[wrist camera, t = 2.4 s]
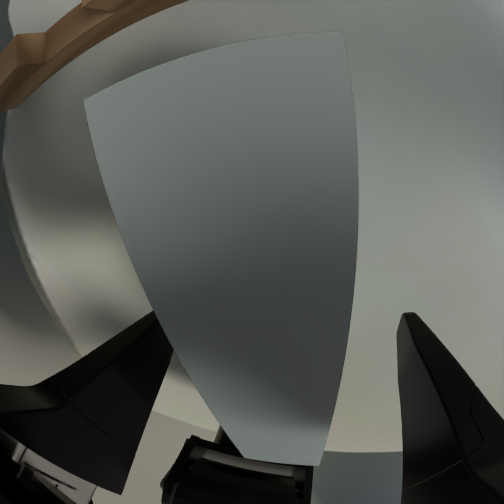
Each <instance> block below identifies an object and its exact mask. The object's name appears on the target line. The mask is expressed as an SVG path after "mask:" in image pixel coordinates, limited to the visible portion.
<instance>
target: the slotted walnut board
mask: <svg viewBox="0 0 504 504" xmlns="http://www.w3.org/2000/svg"><path fill="white" fill-rule="evenodd" d="M185 1H188V0H82V3H80V4H79V5H78V6H76V7H75V8H74V9H72V10H71V11H70V12H69V13H67V14H66V15H65V16H64V17H62V18H61V19H60V20H59V21H58V22H57V23H55V24H54V25H53V26H52V27H51V28H50V29H49V30H48V31H46V32H45V33H28V34H17V35H16V36H15V37H14V38H13V39H12V40H11V42H10V43H9V44H8V45H7V47H6V48H5V49H4V50H3V52H2V53H1V55H0V112H3V111H6V110H9V109H12V108H15V107H17V106H18V105H19V104H20V103H22V102H23V101H24V100H25V99H26V98H27V97H28V96H29V95H30V94H31V93H32V92H33V91H34V90H36V89H37V88H38V87H39V86H40V85H41V84H42V83H44V82H45V81H46V80H47V79H48V78H50V77H51V76H52V75H53V74H55V73H56V72H57V71H58V70H60V69H61V68H62V67H64V66H65V65H66V64H68V63H69V62H70V61H72V60H73V59H75V58H76V57H77V56H79V55H80V54H82V53H83V52H85V51H86V50H88V49H89V48H91V47H93V46H94V45H96V44H97V43H99V42H101V41H102V40H104V39H106V38H107V37H109V36H111V35H112V34H114V33H116V32H118V31H120V30H122V29H123V28H125V27H127V26H129V25H131V24H133V23H135V22H137V21H139V20H141V19H143V18H146V17H148V16H150V15H152V14H155V13H157V12H159V11H162V10H164V9H166V8H169V7H172V6H174V5H177V4H179V3H182V2H185Z"/></svg>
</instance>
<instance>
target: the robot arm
mask: <svg viewBox="0 0 504 504" xmlns="http://www.w3.org/2000/svg"><path fill="white" fill-rule="evenodd" d="M173 350H174V349H173V347H172V345H171V343H170V342H169V340H168V338H167V336H166V334H165V332H164V330H163V328H162V326H161V324H160V322H159V320H158V318H157V316H156V314H155V312H154V310H153V311H152V312H150V313H149V314H147V315H146V316H144V317H143V318H141V319H140V320H138V321H137V322H135V323H134V324H132V325H131V326H129V327H128V328H126V329H125V330H123V331H122V332H120V333H119V334H117V335H116V336H114V337H113V338H111V339H110V340H108V341H107V342H105V343H104V344H102V345H101V346H99V347H98V348H96V349H95V350H93V351H92V352H90V353H89V354H88V355H86V356H84V357H83V358H81V359H80V360H78V361H76V362H75V363H73V364H72V365H70V366H69V367H67V368H65V369H63V370H62V371H60V372H58V373H56V374H55V375H53V376H51V377H49V378H47V379H46V380H44V381H42V382H40V383H38V384H36V385H32V386H14V385H4V384H0V504H93V501H92V496H93V494H94V492H95V489H96V487H97V486H99V487H101V488H104V489H106V490H109V491H111V492H114V493H117V494H119V495H121V494H122V492H123V489H124V486H125V483H126V480H127V477H128V474H129V471H130V469H131V465H132V463H133V460H134V457H135V453H136V451H137V448H138V445H139V442H140V440H141V437H142V434H143V431H144V429H145V426H146V423H147V421H148V418H149V415H150V413H151V410H152V407H153V405H154V402H155V400H156V397H157V394H158V392H159V389H160V387H161V384H162V382H163V379H164V376H165V374H166V371H167V369H168V366H169V364H170V361H171V357H172V354H173ZM397 359H398V385H399V395H400V406H401V419H402V438H403V481H402V498H401V504H504V420H503V418H502V417H501V416H500V415H499V414H498V412H497V411H496V410H495V409H494V408H493V407H492V405H491V404H490V403H489V401H488V400H487V399H486V397H485V396H484V395H483V394H482V392H481V391H480V390H479V388H478V387H477V386H476V385H475V383H474V382H473V380H472V379H471V378H470V377H469V375H468V374H467V373H466V371H465V370H464V369H463V368H462V366H461V365H460V364H459V363H458V361H457V360H456V359H455V358H454V357H453V355H452V354H451V353H450V352H449V350H448V349H447V348H446V347H445V346H444V345H443V343H442V342H441V341H440V340H439V339H438V338H437V336H436V335H435V334H434V333H433V332H432V331H431V330H430V328H429V327H428V326H427V325H426V324H425V323H424V322H423V321H422V319H421V318H420V317H419V316H418V315H417V314H416V313H414V312H407V313H403V314H402V316H401V319H400V323H399V326H398V330H397ZM475 386H476V387H475ZM212 460H213V461H212ZM223 463H224V464H223ZM227 464H228V465H227ZM231 465H232V466H231ZM244 468H245V469H244ZM259 471H260V472H259ZM277 474H278V475H277ZM284 475H285V476H284ZM312 478H313V466H310V465H295V464H284V463H275V462H267V461H260V460H254V459H248V458H244V457H243V455H242V454H241V453H240V451H239V450H238V449H237V447H236V446H235V445H234V443H233V442H232V441H231V439H230V438H229V436H228V435H227V434H226V432H225V431H224V429H223V428H222V427H221V425H220V426H219V429H218V432H217V435H216V438H215V441H214V442H210V441H206V440H203V439H200V438H199V437H197V436H194V435H191V437H190V439H186V441H185V444H184V446H183V448H182V450H181V452H180V454H179V456H178V458H177V459H176V461H175V463H174V464H173V466H172V467H171V469H170V470H169V471H168V473H167V474H166V475H165V477H164V478H163V479H162V481H161V483H160V486H161V488H162V490H163V494H162V500H161V502H162V504H310V503H311V491H312Z"/></svg>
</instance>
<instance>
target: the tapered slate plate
mask: <svg viewBox="0 0 504 504" xmlns="http://www.w3.org/2000/svg"><path fill="white" fill-rule="evenodd" d="M83 101H84V107H85V112H86V117H87V122H88V126H89V131H90V135H91V139H92V143H93V147H94V151H95V155H96V159H97V162H98V166H99V170H100V173H101V177H102V180H103V183H104V186H105V190H106V193H107V196H108V199H109V202H110V205H111V208H112V211H113V214H114V217H115V220H116V222H117V225H118V228H119V231H120V233H121V236H122V239H123V241H124V244H125V246H126V249H127V251H128V254H129V256H130V259H131V261H132V264H133V266H134V268H135V271H136V273H137V275H138V278H139V280H140V282H141V284H142V287H143V289H144V291H145V293H146V295H147V298H148V300H149V302H150V304H151V306H152V308H153V310H154V312H155V314H156V316H157V318H158V320H159V322H160V324H161V326H162V328H163V330H164V332H165V334H166V336H167V338H168V340H169V342H170V343H171V345H172V347H173V349H174V351H175V353H176V354H177V356H178V358H179V360H180V362H181V363H182V365H183V367H184V369H185V370H186V372H187V374H188V375H189V377H190V379H191V380H192V382H193V384H194V385H195V387H196V389H197V390H198V392H199V393H200V395H201V397H202V398H203V400H204V401H205V403H206V404H207V406H208V407H209V409H210V410H211V412H212V413H213V415H214V416H215V418H216V419H217V421H218V422H219V424H220V425H221V427H222V428H223V429H224V431H225V432H226V434H227V435H228V436H229V438H230V439H231V441H232V442H233V443H234V445H235V446H236V447H237V449H238V450H239V451H240V453H241V454H242V455H243V457H244V458H248V459H254V460H260V461H267V462H275V463H284V464H295V465H310V466H319V464H320V461H321V457H322V454H323V451H324V447H325V444H326V440H327V437H328V433H329V429H330V425H331V421H332V417H333V413H334V409H335V405H336V400H337V396H338V391H339V386H340V381H341V376H342V371H343V365H344V360H345V354H346V348H347V341H348V335H349V328H350V320H351V312H352V303H353V294H354V284H355V272H356V258H357V240H358V200H359V192H358V152H357V135H356V121H355V110H354V100H353V91H352V83H351V76H350V69H349V63H348V56H347V51H346V45H345V40H344V34H343V32H315V33H300V34H289V35H280V36H272V37H265V38H259V39H253V40H247V41H242V42H237V43H233V44H228V45H224V46H219V47H215V48H211V49H208V50H204V51H200V52H197V53H193V54H190V55H187V56H184V57H180V58H177V59H174V60H172V61H169V62H166V63H163V64H160V65H158V66H155V67H152V68H150V69H147V70H145V71H142V72H140V73H138V74H135V75H133V76H131V77H128V78H126V79H124V80H122V81H120V82H117V83H115V84H113V85H111V86H109V87H107V88H105V89H103V90H101V91H99V92H97V93H96V94H94V95H92V96H90V97H88V98H86V99H85V100H83Z"/></svg>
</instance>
